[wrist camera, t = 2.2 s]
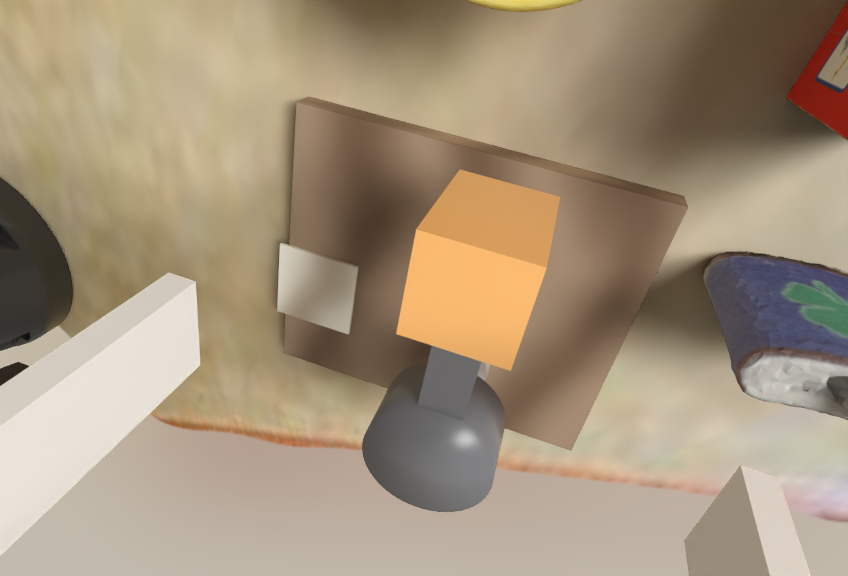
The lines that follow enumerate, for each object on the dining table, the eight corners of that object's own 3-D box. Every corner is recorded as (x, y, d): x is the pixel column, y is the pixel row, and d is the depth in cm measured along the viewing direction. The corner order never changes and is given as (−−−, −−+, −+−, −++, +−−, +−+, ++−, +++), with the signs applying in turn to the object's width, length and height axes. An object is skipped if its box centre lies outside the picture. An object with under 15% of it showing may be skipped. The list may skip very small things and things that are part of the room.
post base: (287, 338, 39) (223, 412, 32) (300, 94, 30) (216, 128, 23) (572, 433, 36) (565, 536, 29) (684, 196, 27) (710, 268, 20)
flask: (693, 284, 29) (736, 424, 20) (719, 236, 27) (778, 363, 18) (879, 338, 28) (1014, 513, 19) (917, 290, 26) (1085, 455, 17)
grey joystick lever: (490, 463, 29) (466, 567, 24) (383, 426, 29) (338, 519, 24) (586, 204, 21) (580, 277, 16) (435, 162, 21) (384, 220, 16)
